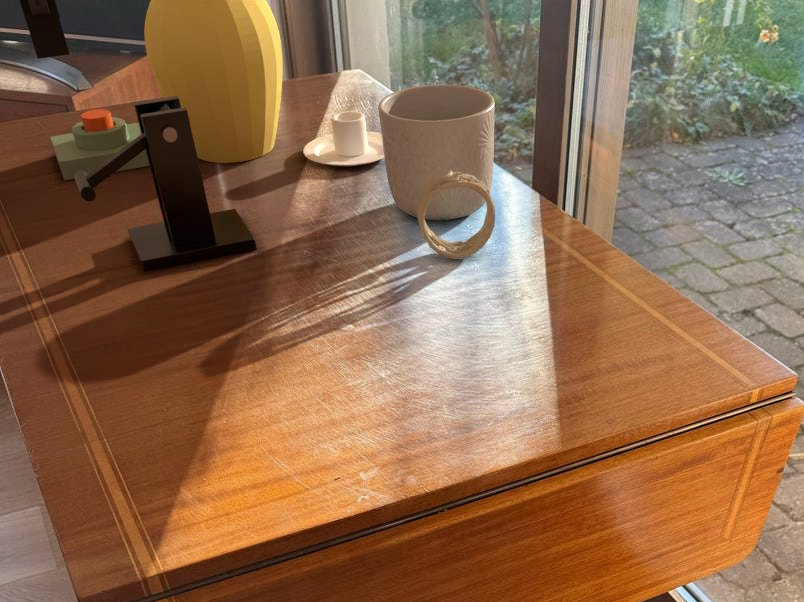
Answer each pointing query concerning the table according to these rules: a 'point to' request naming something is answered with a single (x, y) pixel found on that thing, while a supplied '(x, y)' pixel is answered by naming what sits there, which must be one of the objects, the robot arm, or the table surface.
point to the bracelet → (459, 248)
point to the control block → (95, 147)
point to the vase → (219, 72)
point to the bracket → (181, 196)
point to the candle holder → (346, 143)
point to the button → (97, 120)
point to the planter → (437, 145)
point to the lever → (110, 165)
